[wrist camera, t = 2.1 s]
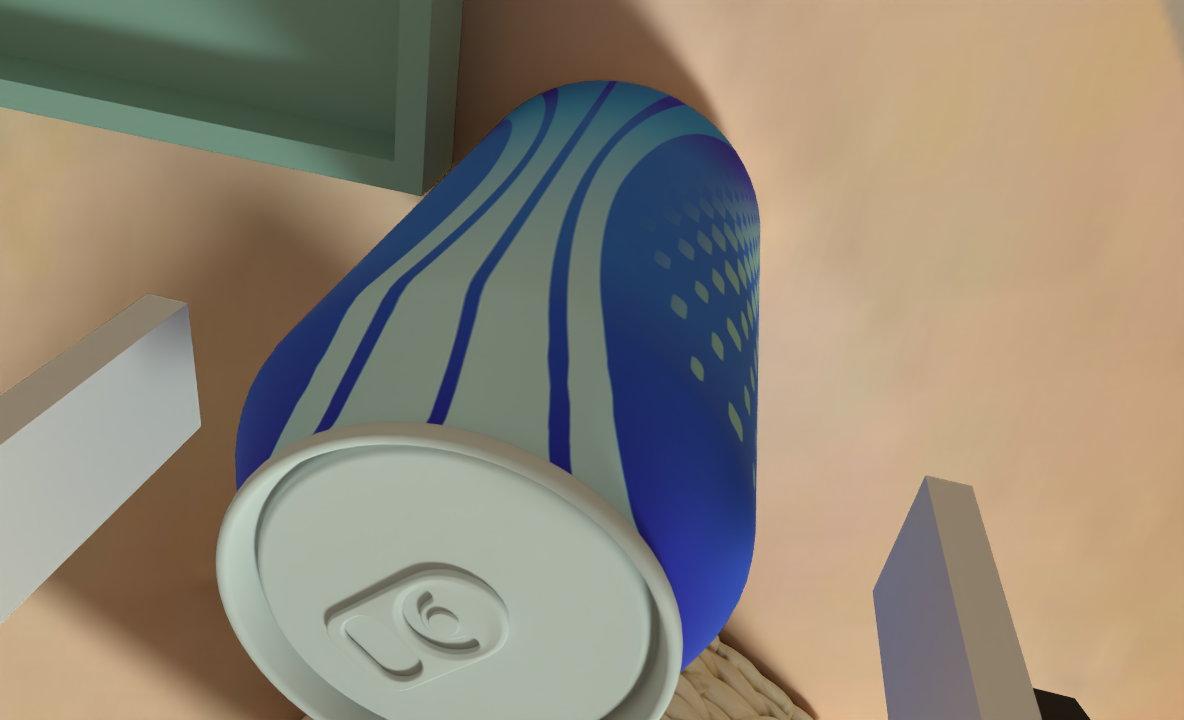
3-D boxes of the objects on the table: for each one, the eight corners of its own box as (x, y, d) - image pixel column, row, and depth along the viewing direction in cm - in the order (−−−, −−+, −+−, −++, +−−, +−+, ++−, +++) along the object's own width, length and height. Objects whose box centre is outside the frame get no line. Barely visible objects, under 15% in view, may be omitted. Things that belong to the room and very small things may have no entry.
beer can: (472, 57, 24) (80, 325, 10) (781, 82, 23) (804, 418, 9) (479, 326, 28) (210, 768, 14) (740, 357, 27) (714, 866, 13)
